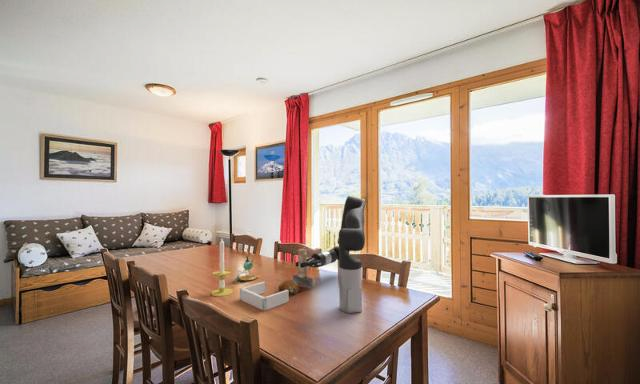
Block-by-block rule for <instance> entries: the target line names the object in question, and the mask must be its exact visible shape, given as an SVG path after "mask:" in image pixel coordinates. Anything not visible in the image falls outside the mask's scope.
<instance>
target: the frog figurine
mask: <svg viewBox="0 0 640 384" xmlns="http://www.w3.org/2000/svg"><path fill="white" fill-rule="evenodd" d="M245 258H246V260H245V261H244V262H243V268H244V270H243V271H241V270H238V275H237V276H236V277H235V278H234V282H233V284H234V285H237V284H240V283H241V281H251V280H255V279H258V278H260V277H261V275H256V274H254V271H252V268H253V266H254V265H253V263H254V260H253V259H252V260H251V261H250V260H249V256H248V254H246V255H245ZM247 271H248V272H249V274H247V273H248V272H247ZM241 274H245V275H242V276H241ZM239 280H240V281H239Z"/></svg>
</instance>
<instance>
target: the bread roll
mask: <svg viewBox="0 0 640 384" xmlns="http://www.w3.org/2000/svg"><path fill="white" fill-rule="evenodd" d="M299 286H300V285H299V284H297V282H295V281H294V280H293V279H289V278H288V279H283V280H282V281H281V282H280V283H279V284H278V287H277V290H278V293H279V292H282V291H285V290H289V297H291V296H295V295H297V294H298V293H299V291H300V288H299Z"/></svg>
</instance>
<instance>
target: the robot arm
mask: <svg viewBox="0 0 640 384" xmlns="http://www.w3.org/2000/svg"><path fill="white" fill-rule="evenodd" d="M365 208H366V202H365V200H364V199H363V198H360V197H359V198H358V197H356V196H355V197H354V196H352V195H349V196H347V197H346V199H345V203H344V206H343V211H342V218H341V225H340V229H339V231H338V238H337V244H338V245H337V246H336V245H335V246H334V247H333V248H331V249H329V250H326V251H319V252H315V253H313V254H312V255H311V256H310V257H309V256H308V257H307V262H304V263H301V264H300V268H303V267H307V268H320V267H324V266H327V265H330V264H333V263H335V262H337V260H338V261H339V263H338V264H339V265H338V267H339V268H338V270H339V271H338V273H339V274H338V281H339V282H338V284H339V285H338V287H339V289H338V291H339V292H338V294H339V295H338V296H339V298H338V299H339V304H338V306H339V307H338V308H339V310H340V311H342V312H343V313H347V314H354V313H361V312H363V304H362V303H363V301H362V300H363V294H362V293H363V290H362V260H361V259H359V258H357V257H355V256H352V255H351V254H350V252H360V251H362V250H364V248H365V244H366V236H365V235H366V234H365ZM294 263H295V265H294V266H295V267H297V268H298V261H296V262H294Z"/></svg>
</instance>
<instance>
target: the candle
mask: <svg viewBox="0 0 640 384" xmlns="http://www.w3.org/2000/svg"><path fill="white" fill-rule="evenodd" d="M231 273H232V271H231V270H229V269H225V241H224V239H223V238H222V237H221V239H220V241H219V270H216V271H213V272H212V275H213V276H216V277H218V289H214V290H212V292H210V296H213V297H225V296H229V295H231V294H232V293H233V289H231V288H225V286H226V283H225V279H226V278H225V277H226V276H227V275H230V274H231Z"/></svg>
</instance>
